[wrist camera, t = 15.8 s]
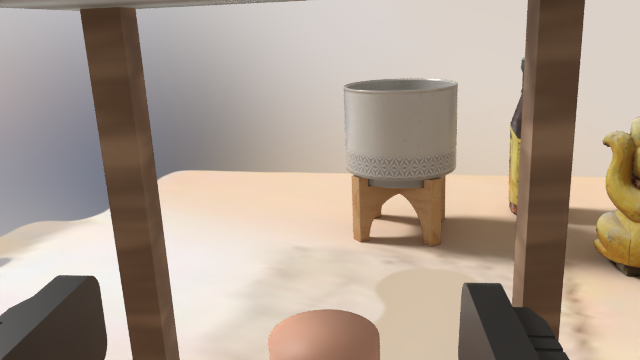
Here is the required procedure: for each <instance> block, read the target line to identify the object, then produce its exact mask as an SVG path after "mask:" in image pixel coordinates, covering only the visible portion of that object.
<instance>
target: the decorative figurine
mask: <svg viewBox="0 0 640 360" xmlns="http://www.w3.org/2000/svg"><path fill="white" fill-rule="evenodd" d="M603 144H604V145H606V146H608V147H611V149H612V152H613V157H612V161H611V164H610V166H609V169H608V171H607V176H606V190H607V193H608V196H609V198H610V199H611V201H612V202H613V204H614V205H615V206H616V207H617V210H616V212H607V213H604V214H602V215H601V217H600V218H599V219H598V222H597V225H596V231H597V236H598V238H597V239H595V240H594V246H595V248H596V249H597V250H598V251H599V252H600V253H601V254H602V255H603V256H605V257H606V258H608V259H610V260H612V261H614V262H615V263H617V265H616V266H617V267H618V268H619V270H621V271H622V272H623V273H624V274H625V275H626V276H635V275H640V117H637V118H635V119H634V121H633V123H632V126H631V131H630V134H628V133H625V132H621V131H616V132H612V133H610V134H609V135H607V136H606V137H605V138H604V140H603Z"/></svg>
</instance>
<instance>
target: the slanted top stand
mask: <svg viewBox="0 0 640 360" xmlns="http://www.w3.org/2000/svg"><path fill="white" fill-rule="evenodd" d="M283 1H284V2H285V1H305V0H0V7H2V8H4V7H5V8H26V9H49V10H73V11H75V10H76V11H80V13H81V20H82V26H83V33H84V39H85V46H86V52H87V59H88V66H89V73H90V79H91V86H92V92H93V99H94V106H95V111H96V119H97V125H98V131H99V139H100V145H101V152H102V158H103V165H104V172H105V178H106V185H107V191H108V197H109V205H110V211H111V218H112V224H113V231H114V238H115V244H116V251H117V257H118V264H119V271H120V277H121V284H122V290H123V297H124V304H125V310H126V317H127V323H128V330H129V337H130V343H131V350H132V356H133V360H180V359H179V351H178V343H177V335H176V327H175V319H174V311H173V303H172V295H171V287H170V279H169V272H168V264H167V256H166V248H165V240H164V232H163V224H162V216H161V208H160V200H159V192H158V184H157V176H156V169H155V161H154V153H153V145H152V137H151V130H150V121H149V114H148V105H147V98H146V89H145V81H144V74H143V66H142V58H141V51H140V42H139V34H138V26H137V18H136V10H135V9H142V8H161V7H184V6H202V5H203V6H204V5H222V4H223V5H224V4H244V3H261V2H263V3H264V2H283ZM584 5H585V0H528V10H527V29H526V49H525V68H524V87H523V106H522V125H521V144H520V164H519V183H518V202H517V221H516V240H515V259H514V278H513V298H512V306H513V307H528V308H529V309H531V310H532V311H533V312H535V313H536V314H538V315H539V316H540V317H542V318H543V319H544V320H546V322H547V323H548V325H549V327H550V328H551V330H552V332H553V333H554V335H555V339H557V340H558V339H559V326H560V313H561V300H562V288H563V275H564V262H565V249H566V236H567V223H568V211H569V198H570V185H571V171H572V158H573V146H574V133H575V121H576V108H577V94H578V82H579V69H580V57H581V44H582V31H583V18H584Z"/></svg>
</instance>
